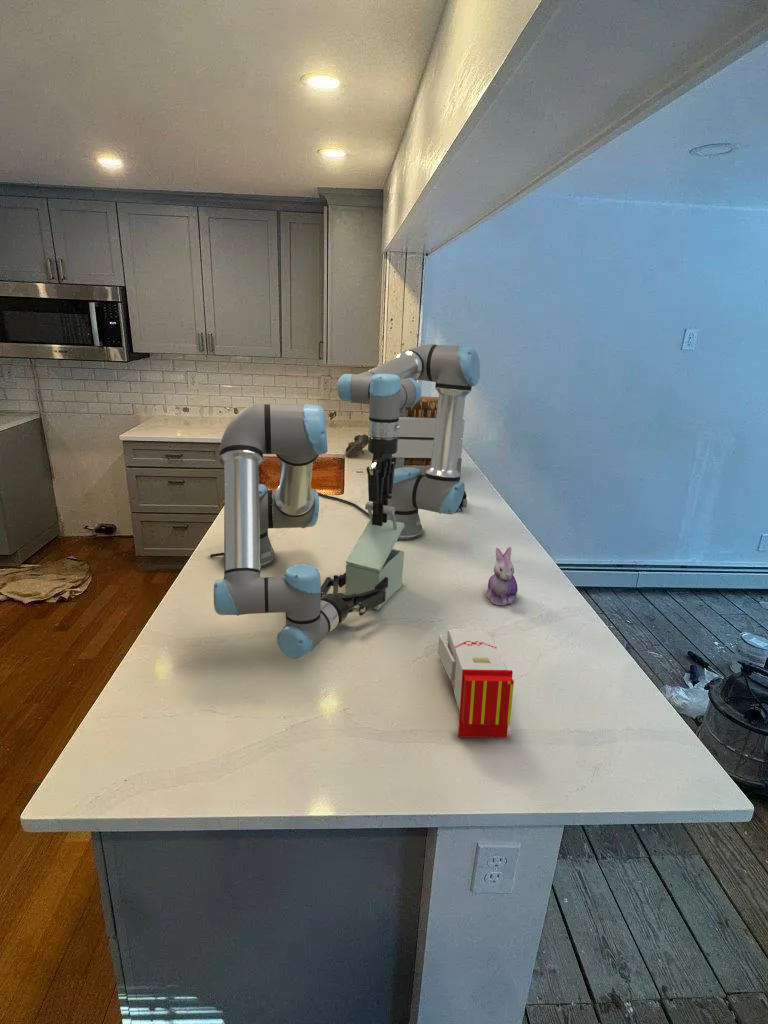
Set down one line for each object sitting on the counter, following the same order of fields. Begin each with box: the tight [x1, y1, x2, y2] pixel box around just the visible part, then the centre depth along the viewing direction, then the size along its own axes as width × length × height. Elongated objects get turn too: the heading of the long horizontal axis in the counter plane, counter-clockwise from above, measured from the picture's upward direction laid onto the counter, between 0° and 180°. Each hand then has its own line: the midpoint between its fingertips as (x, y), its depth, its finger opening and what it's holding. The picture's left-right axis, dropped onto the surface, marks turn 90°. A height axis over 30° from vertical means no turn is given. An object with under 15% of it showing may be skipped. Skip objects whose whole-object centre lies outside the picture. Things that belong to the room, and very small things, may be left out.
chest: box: [344, 548, 405, 611], centre depth 156 cm, size 16×10×11 cm, turn 155°
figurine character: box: [457, 490, 468, 512], centre depth 228 cm, size 7×8×15 cm
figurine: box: [486, 546, 518, 606], centre depth 155 cm, size 9×10×15 cm
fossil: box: [344, 433, 370, 458], centre depth 304 cm, size 22×10×15 cm
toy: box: [437, 628, 515, 738], centre depth 117 cm, size 12×13×30 cm
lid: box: [345, 501, 404, 572], centre depth 149 cm, size 17×10×9 cm, turn 154°
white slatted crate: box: [392, 396, 465, 475], centre depth 268 cm, size 34×33×41 cm
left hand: (369, 577), depth 152 cm, fingers closed on chest, 10 cm apart
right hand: (379, 523), depth 152 cm, fingers closed on lid, 2 cm apart
